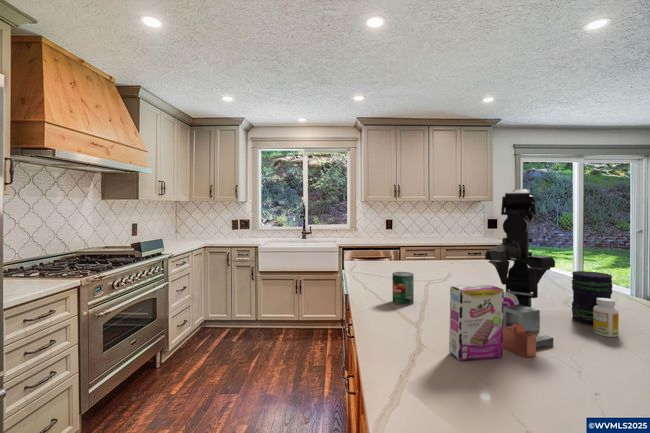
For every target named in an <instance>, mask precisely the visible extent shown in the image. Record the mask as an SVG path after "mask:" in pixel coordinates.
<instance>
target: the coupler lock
mask: <svg viewBox="0 0 650 433" xmlns="http://www.w3.org/2000/svg"><path fill="white" fill-rule="evenodd" d="M540 320H541V311H540V309H538V308H534V307H532V306H531V307H527V306H523V305H520V304H518V305H512V306H505V307H503V327H505V326H512V325H513V324H515V323H519V324H521V325H523V326H524V328H525V330H526V332H529V333H535V331H536V332H539V331H540V326H541V324H540V323H541V321H540Z"/></svg>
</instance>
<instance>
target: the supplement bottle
mask: <svg viewBox="0 0 650 433" xmlns="http://www.w3.org/2000/svg"><path fill="white" fill-rule="evenodd" d="M597 304H598V305H596V306H594V308H593V326H592V327H593V329H592V330H593V333H595V334H597V335H599V336H602V337H609V338H616V337H619V314H620V313H619V310H618V308H617V307H615V306H616V300H615V299H613V298H611V299H608V298H597Z"/></svg>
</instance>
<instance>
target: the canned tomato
mask: <svg viewBox="0 0 650 433" xmlns="http://www.w3.org/2000/svg"><path fill="white" fill-rule="evenodd" d="M414 275H415V274H414V273H412V272H407V271H394V272H392V278H391V279H392V287H391V288H392V303H393V304H394V305H398V306H399V305H400V306H412V305H414V294H415V293H414V291H415V290H414V284H415V283H414V282H415V281H414Z"/></svg>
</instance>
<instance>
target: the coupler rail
mask: <svg viewBox="0 0 650 433" xmlns="http://www.w3.org/2000/svg"><path fill="white" fill-rule="evenodd" d="M553 346H554V337H552V336H548V335H546V334H545V335H541V336H537V334H534V333H533V332H530V333H529V332H526V330H525V328H524V326H523V325H521V324H519V323H515V324H513V325H512V326H505V327H503V339H502V349H505V350H508V351H510V352H512V353H515V354H516V355H519V356H521V357H523V358H526V359H529V358H533V357H536V356H537V350H540V349H546V348H549V347H553Z"/></svg>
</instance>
